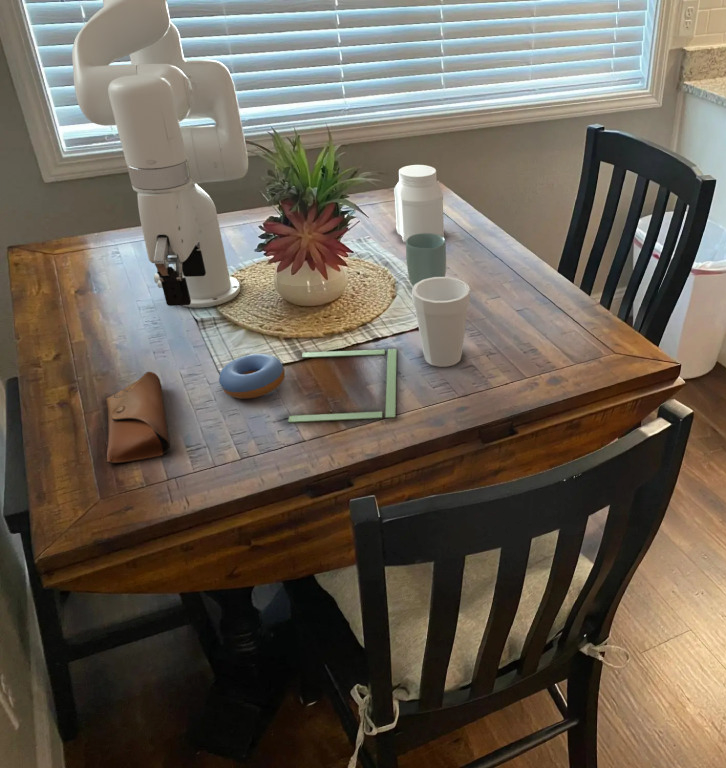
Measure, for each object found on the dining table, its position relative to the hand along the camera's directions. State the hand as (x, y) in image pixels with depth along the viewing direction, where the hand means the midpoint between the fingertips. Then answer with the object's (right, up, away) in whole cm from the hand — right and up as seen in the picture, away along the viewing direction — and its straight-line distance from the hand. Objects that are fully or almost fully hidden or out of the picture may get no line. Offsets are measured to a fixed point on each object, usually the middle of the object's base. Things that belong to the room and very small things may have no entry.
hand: (187, 289), depth 111 cm
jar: (+27, +21, +63) cm, 72 cm away
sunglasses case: (-8, -20, +1) cm, 22 cm away
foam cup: (+36, -9, +19) cm, 42 cm away
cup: (+31, +6, +41) cm, 52 cm away
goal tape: (+20, -14, +12) cm, 27 cm away
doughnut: (+6, -15, +10) cm, 19 cm away
